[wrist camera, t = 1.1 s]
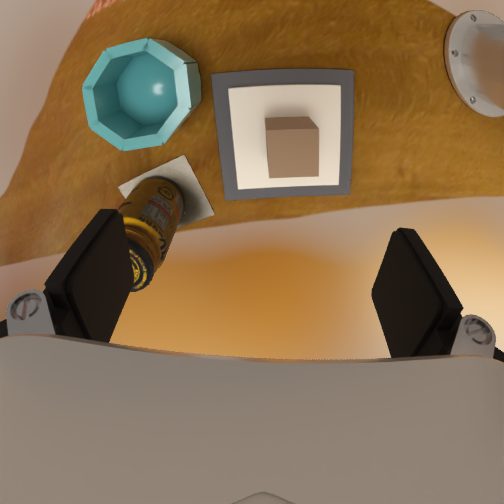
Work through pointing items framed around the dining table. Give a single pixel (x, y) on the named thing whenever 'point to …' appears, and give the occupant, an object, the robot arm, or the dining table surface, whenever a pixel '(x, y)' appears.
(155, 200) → the condiment
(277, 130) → the lid
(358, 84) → the dining table surface
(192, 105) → the bowl
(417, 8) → the dining table surface
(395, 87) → the dining table surface
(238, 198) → the mat
